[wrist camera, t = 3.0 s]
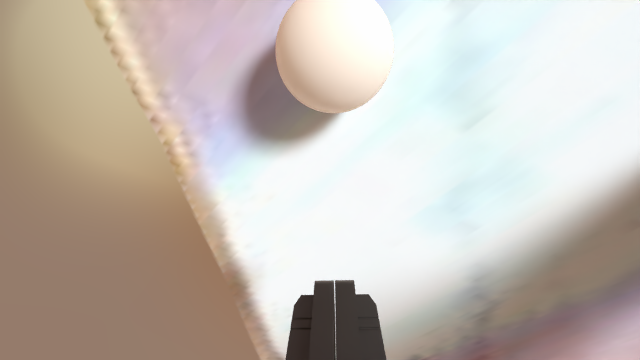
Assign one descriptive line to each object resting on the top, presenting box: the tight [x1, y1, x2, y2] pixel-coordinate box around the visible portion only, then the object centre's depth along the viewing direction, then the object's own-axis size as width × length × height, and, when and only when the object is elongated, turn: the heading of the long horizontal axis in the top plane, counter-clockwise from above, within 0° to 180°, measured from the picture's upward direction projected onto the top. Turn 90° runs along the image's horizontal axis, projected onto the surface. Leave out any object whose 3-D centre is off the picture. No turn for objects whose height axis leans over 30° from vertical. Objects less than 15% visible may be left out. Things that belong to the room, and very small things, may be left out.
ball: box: [275, 0, 394, 113], centre depth 14 cm, size 6×6×6 cm
